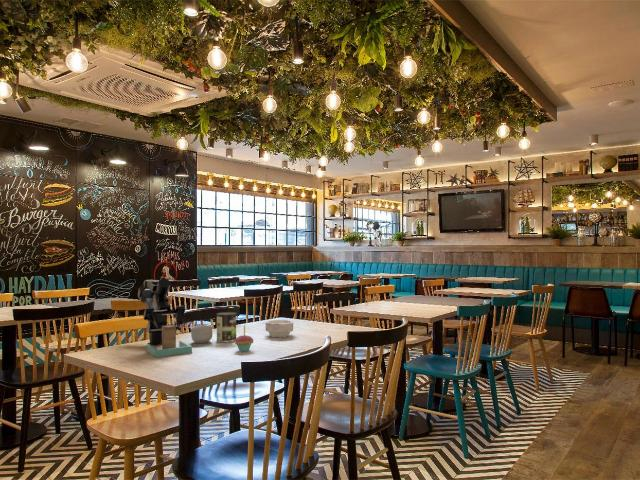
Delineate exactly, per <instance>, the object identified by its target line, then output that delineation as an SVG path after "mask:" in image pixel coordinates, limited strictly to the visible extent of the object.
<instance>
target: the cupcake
mask: <svg viewBox="0 0 640 480" xmlns="http://www.w3.org/2000/svg"><path fill="white" fill-rule="evenodd" d="M253 343H254V338H253V337H252V336H250V335H246V324H244V325H243V335H239V336H237V337H236V339H235V341H234V344H236V346H237V349H238V351H239V352H241V353H242V352H244V353H245V352H249V351H250V348H251V346H252V344H253Z"/></svg>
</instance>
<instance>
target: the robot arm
mask: <svg viewBox="0 0 640 480" xmlns="http://www.w3.org/2000/svg"><path fill="white" fill-rule="evenodd" d="M170 287H171V281H170V280H169V279H167V278H166V277H165V276H164V277H160V279H157V280H155V279H145V280H144V281H143V283H142V284H141V285H140V286H139V287H138V289H137V290H138V292H137V298H138V299H139V300H140V302H142V303H143V304H145V307H146V308H145V309H144V312H143V320H144V321H147V325H146V332H147V333H148V334H149V342H148V343H146V344H147V345H148V344H150V345H151V346H159V345H162V326H166V325H168V315H169V316H170V315H174V319H175V322H176V323H175V324H176V327H179V326H180V325H179V323H180V319H181V318H182V317H184V316H185V312H186V310H187V309H186V307H185V305H176V306H175V309H171V304H170V303H169V301H170V298H168V295H167V294H169V290H170V289H171V288H170Z"/></svg>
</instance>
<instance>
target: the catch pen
mask: <svg viewBox="0 0 640 480" xmlns="http://www.w3.org/2000/svg"><path fill="white" fill-rule="evenodd" d="M146 352H148V353H149V354H150V355H152V356H153V357H154V358H163V357H169V356H177V355H185V354H192V353H193V346H192V345H190V344H188V343H187V342H185V341H183V340H179V341H178V347H177V346H176V348H169V349H162V348H161V349H157V348H155V347H154V345H151V344H147V345H146Z"/></svg>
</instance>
